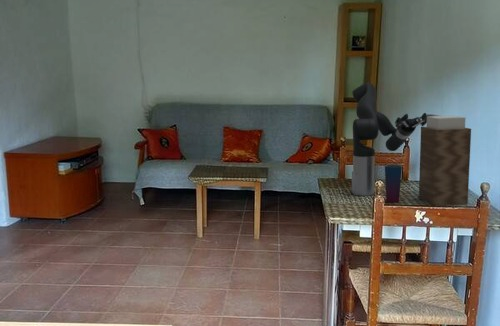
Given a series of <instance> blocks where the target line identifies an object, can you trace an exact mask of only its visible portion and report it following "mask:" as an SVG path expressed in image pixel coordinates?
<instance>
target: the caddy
mask: <svg viewBox="0 0 500 326" xmlns="http://www.w3.org/2000/svg"><path fill="white" fill-rule="evenodd" d="M426 114H427V113H426ZM426 127H427V128H432V129H436V130H447V129H465V128H466V117H465V116H459V115H458V116H457V115H438V114H431V113H430V114H429V113H428V114H427V123H426Z"/></svg>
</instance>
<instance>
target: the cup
mask: <svg viewBox="0 0 500 326" xmlns="http://www.w3.org/2000/svg"><path fill="white" fill-rule="evenodd" d="M402 171H403V165H401V164H395V163H394V164H393V163H392V164H391V163H390V164H389V163H388V164H385V165H384V176H385V177H384V178H385V179H384V183H385V201H386V203H391V204H394V203H399V202H400V194H401V193H400V191H401V184H402V183H401V181H402Z"/></svg>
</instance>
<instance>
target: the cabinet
mask: <svg viewBox="0 0 500 326" xmlns="http://www.w3.org/2000/svg"><path fill="white" fill-rule="evenodd" d="M471 139H472V128H469V127H465V129H447V130H436V129H432V128H427V126H420V149H419V175H418V176H419V179H418V180H419V181H418V182H419V183H418V184H419V185H418V198H420V199H421V200H423V201H425V203H428V204H429V205H431V206H433V205H435V206H452V205H453V206H457V205H468V202H469V182H470V181H469V180H470V179H469V178H470V166H471V165H470V161H471V143H472V142H471Z"/></svg>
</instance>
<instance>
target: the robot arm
mask: <svg viewBox="0 0 500 326" xmlns="http://www.w3.org/2000/svg"><path fill="white" fill-rule="evenodd" d="M352 96H353V99H354V100H355V103H357V104H356V110H355V111H356V116H357V118H355V119H354V120H353V121H352V143H353V144H352V146H353V147H352V149H353V150H352V151H353V152H352V170H351V193H352V194H353V195H354V196H361V197H362V196H363V197H364V196H365V197H366V196H372V195H375V158H376V157H375V155H376V154H375V153H376V151H375V149H374V148H373V147H370V146H367V145H365V144H363V143H362V142H361V141H373V140H376V139H377V138H378V137H379V132H380V134H381V135H382V136H384V137H387V136H389V135H391V136H389V138H388V139H387V140H386V141H385V147H386V149H387V150H388V151H391V152H395V151H397V150H398V149H399V148H400V147H402V145H404V143H405V142H406V140H407V139H408V138H409V137H411V135H412V134H413V133H414V131H415V130H416V128H417V127H418V126H419V125H420V127H425V126H426V125H427V113H426V112H424V113H422V115H421V116H416V117H414V118H409V114H408V113H405V114H403V115H402V116H401V117H399V116H398V117H397V118H396V119H395V122H394V124H395V125H393V124H392V122H391V121H390V119H389V118H388V116H386V114H384V113H381V112H380V111H377V110H378V109H377V97H378V94H377V89H376V88H375V85H374V84H373V83H371V82H365V83H363V84H361V85H360V86H358V87H356V88H355V89H353V90H352ZM394 126H395V127H394Z"/></svg>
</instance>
